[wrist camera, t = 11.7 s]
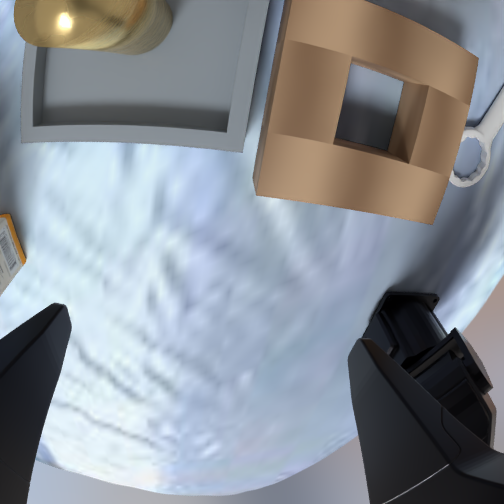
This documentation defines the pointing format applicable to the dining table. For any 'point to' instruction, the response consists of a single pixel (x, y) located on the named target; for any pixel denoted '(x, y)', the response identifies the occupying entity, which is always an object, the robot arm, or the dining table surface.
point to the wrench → (483, 140)
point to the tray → (152, 83)
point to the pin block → (330, 102)
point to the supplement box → (9, 252)
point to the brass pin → (94, 24)
